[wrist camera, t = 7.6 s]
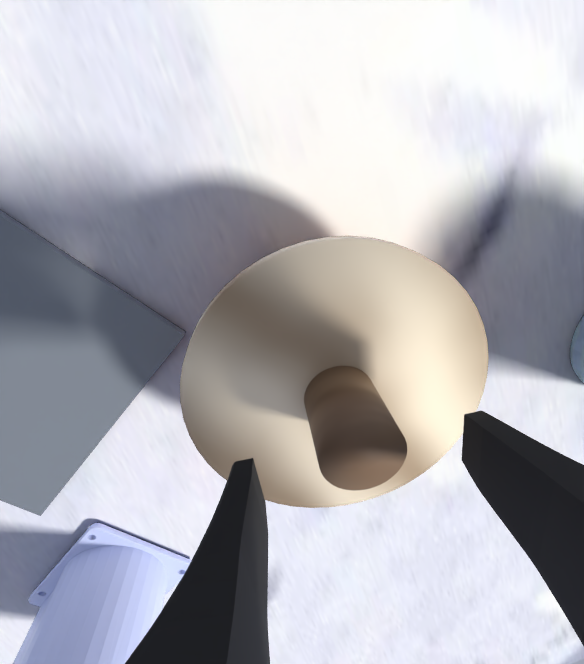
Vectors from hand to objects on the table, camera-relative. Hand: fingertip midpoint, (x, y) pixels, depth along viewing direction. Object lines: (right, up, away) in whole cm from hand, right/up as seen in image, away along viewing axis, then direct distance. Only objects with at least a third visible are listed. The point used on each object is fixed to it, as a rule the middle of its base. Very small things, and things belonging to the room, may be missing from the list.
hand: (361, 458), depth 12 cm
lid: (0, +2, +4) cm, 4 cm away
